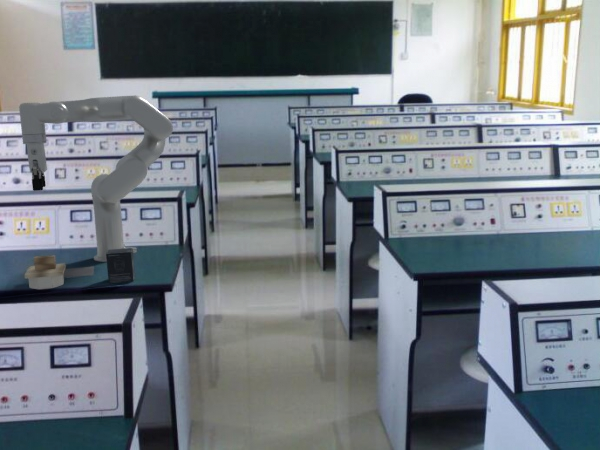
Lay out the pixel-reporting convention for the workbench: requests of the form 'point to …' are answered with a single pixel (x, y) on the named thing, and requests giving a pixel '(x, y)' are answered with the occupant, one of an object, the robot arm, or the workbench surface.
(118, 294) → the workbench surface
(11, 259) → the workbench surface
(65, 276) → the mat
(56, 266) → the beige plate with ridge
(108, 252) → the box
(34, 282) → the bowl
